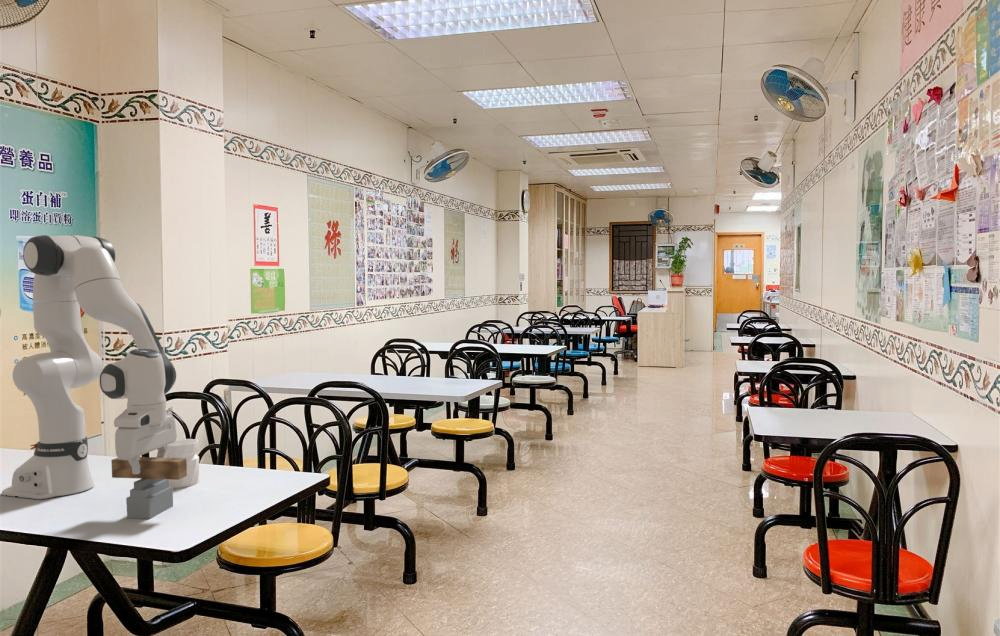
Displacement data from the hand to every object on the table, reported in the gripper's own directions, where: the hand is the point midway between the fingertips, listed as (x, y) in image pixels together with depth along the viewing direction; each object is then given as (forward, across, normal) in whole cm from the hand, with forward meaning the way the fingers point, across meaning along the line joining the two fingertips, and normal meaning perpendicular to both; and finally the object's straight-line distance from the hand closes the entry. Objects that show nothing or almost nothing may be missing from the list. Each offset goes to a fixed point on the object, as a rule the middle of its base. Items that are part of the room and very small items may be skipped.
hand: (149, 468), depth 180 cm
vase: (+11, -25, -6) cm, 28 cm away
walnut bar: (+2, 0, 0) cm, 2 cm away
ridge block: (+11, 0, 0) cm, 11 cm away
